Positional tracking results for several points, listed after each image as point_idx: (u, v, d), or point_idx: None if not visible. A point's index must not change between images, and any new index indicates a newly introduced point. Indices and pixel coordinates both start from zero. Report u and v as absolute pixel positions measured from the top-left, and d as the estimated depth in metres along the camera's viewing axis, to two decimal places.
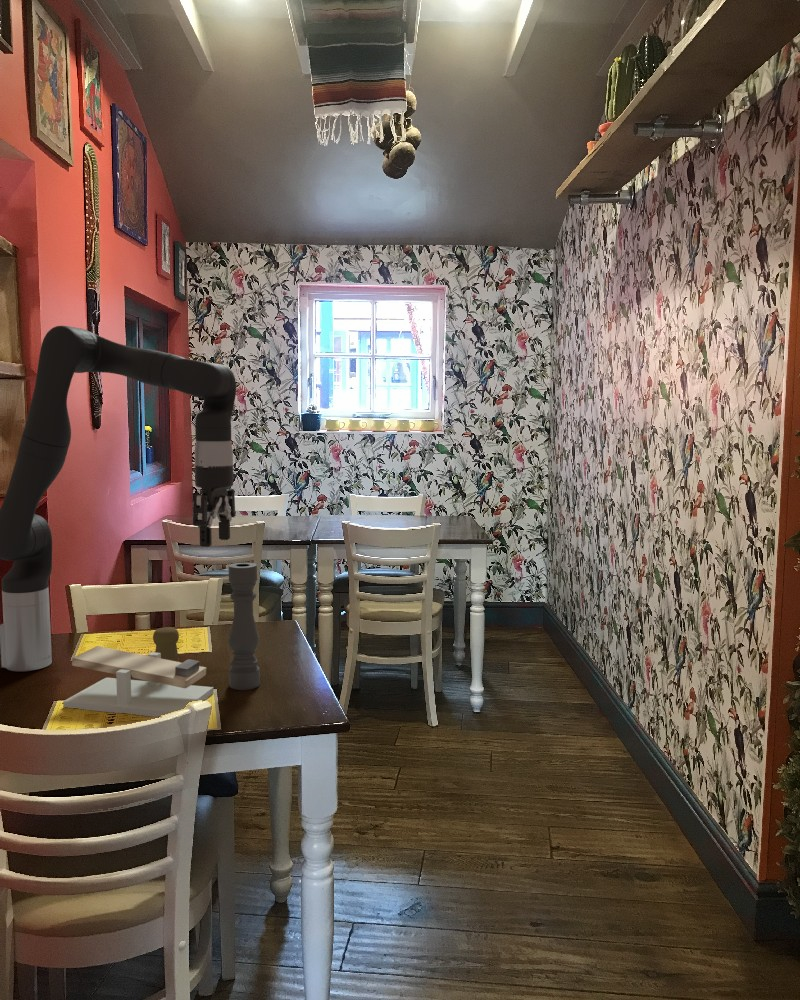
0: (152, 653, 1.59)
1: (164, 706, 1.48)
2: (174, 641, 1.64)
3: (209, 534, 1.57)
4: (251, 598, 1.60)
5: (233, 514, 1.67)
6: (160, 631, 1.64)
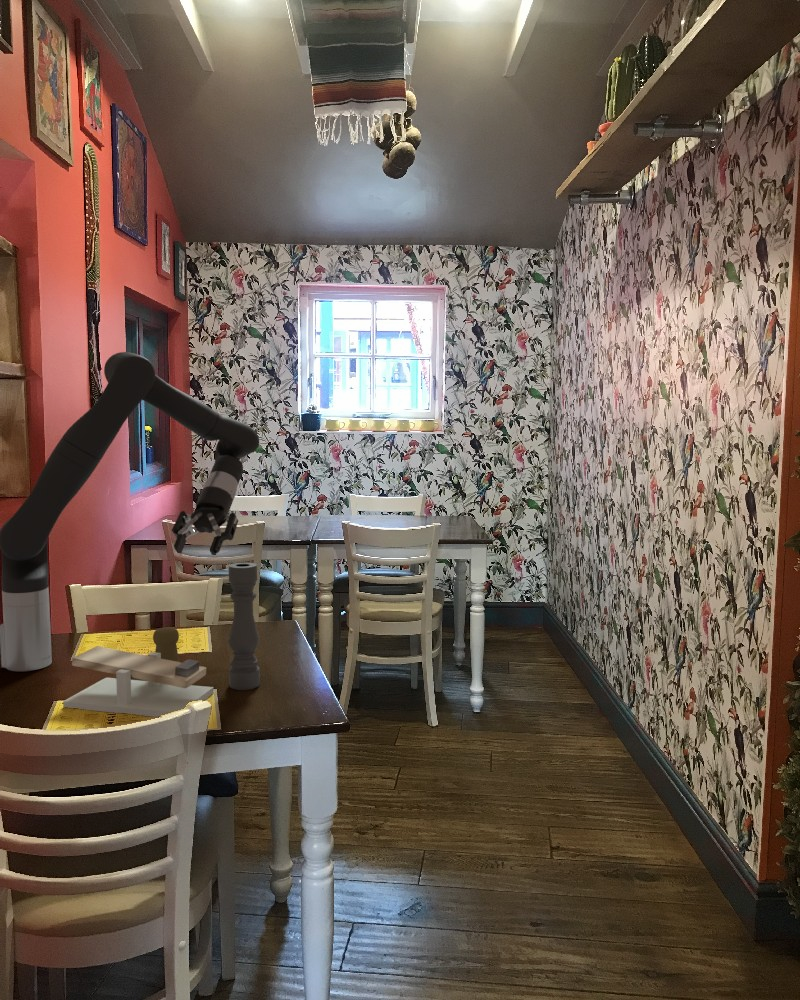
0: (152, 653, 1.59)
1: (164, 706, 1.48)
2: (174, 641, 1.64)
3: None
4: (251, 598, 1.60)
5: None
6: (160, 631, 1.64)
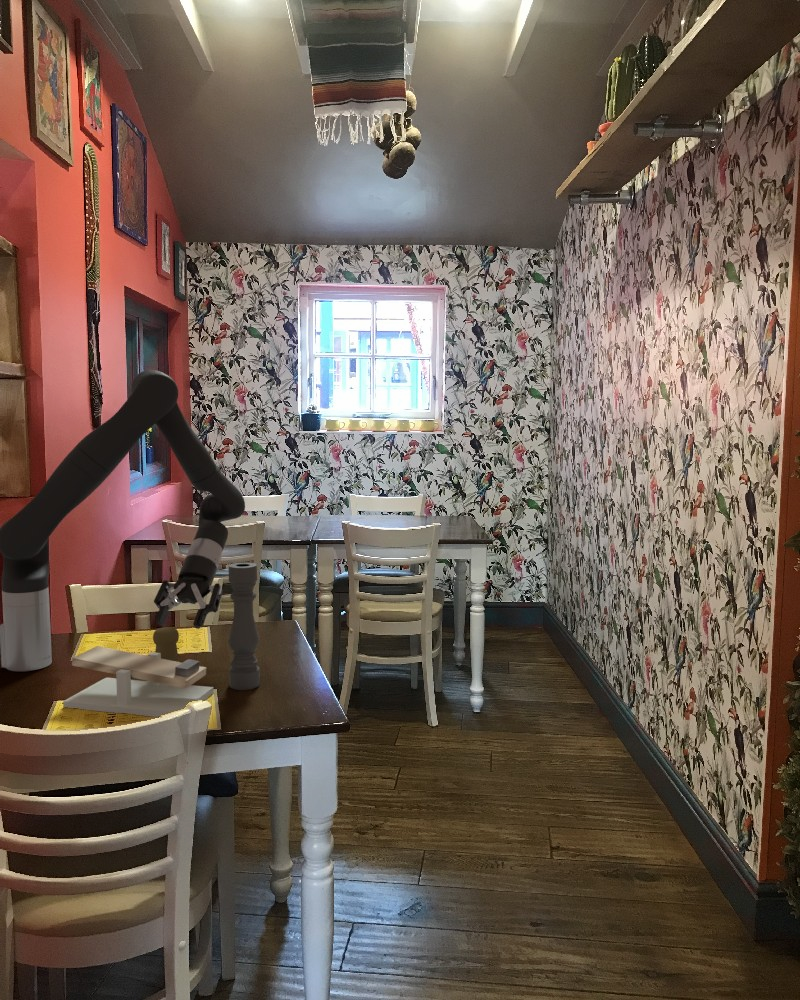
0: (152, 653, 1.59)
1: (164, 706, 1.48)
2: (174, 641, 1.64)
3: None
4: (251, 598, 1.60)
5: None
6: (160, 631, 1.64)
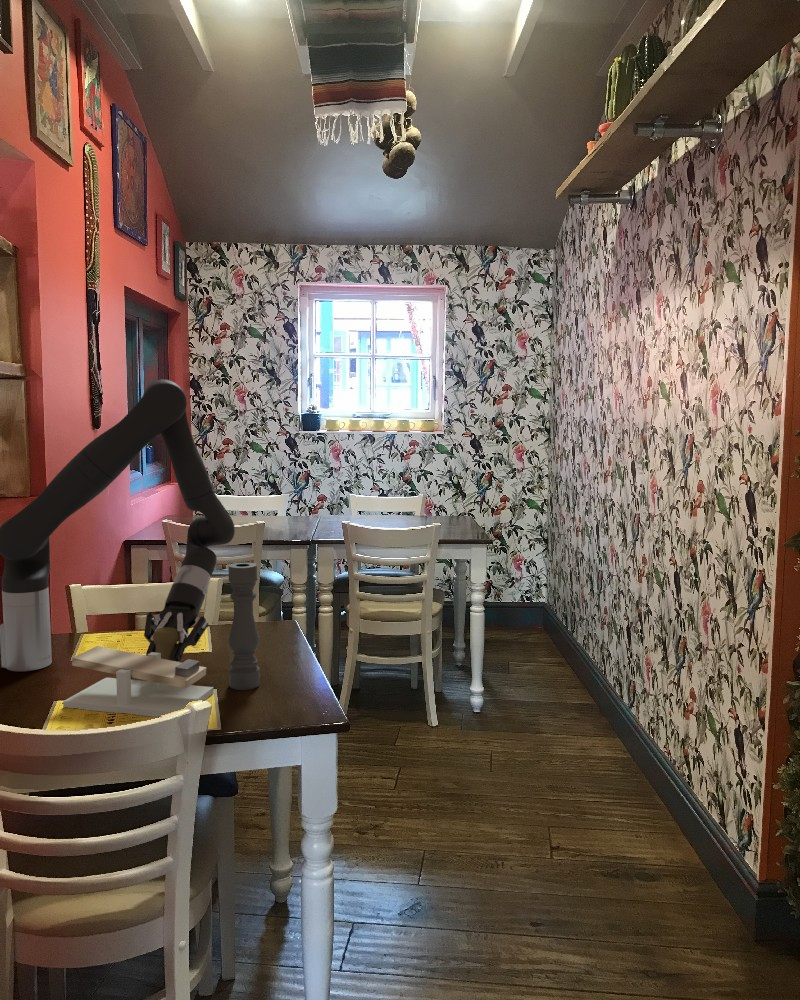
0: (152, 653, 1.59)
1: (164, 706, 1.48)
2: (174, 641, 1.64)
3: None
4: (251, 598, 1.60)
5: None
6: (160, 631, 1.64)
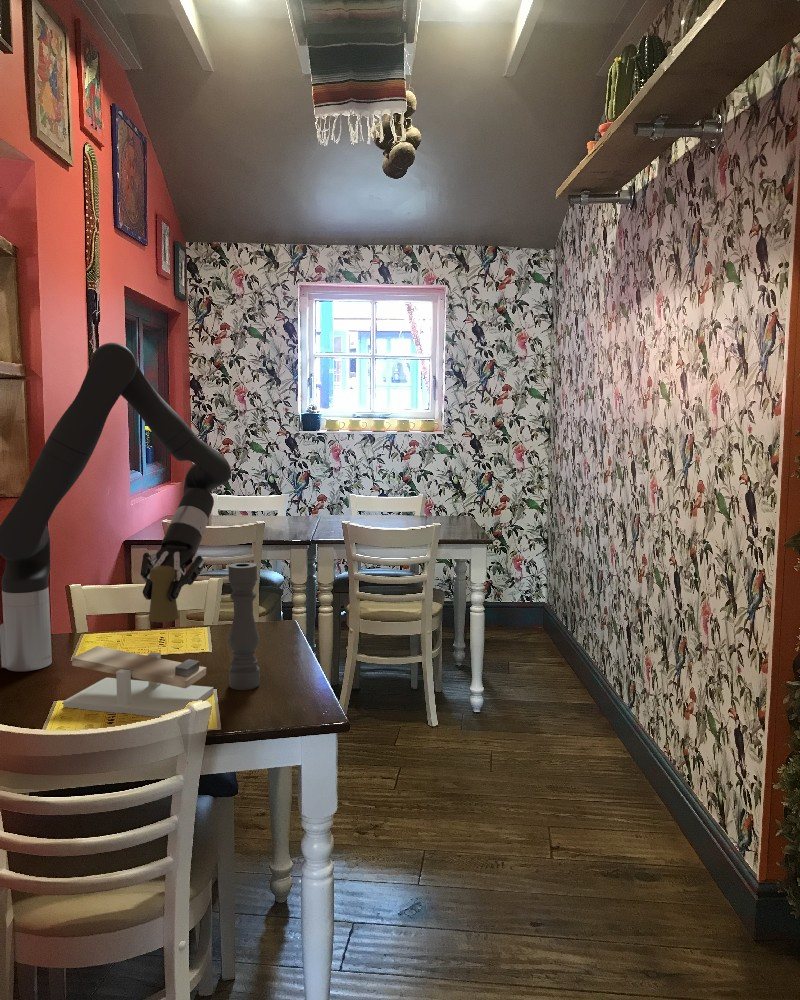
0: (152, 653, 1.59)
1: (164, 706, 1.48)
2: (171, 579, 1.63)
3: None
4: (251, 598, 1.60)
5: None
6: (157, 569, 1.62)
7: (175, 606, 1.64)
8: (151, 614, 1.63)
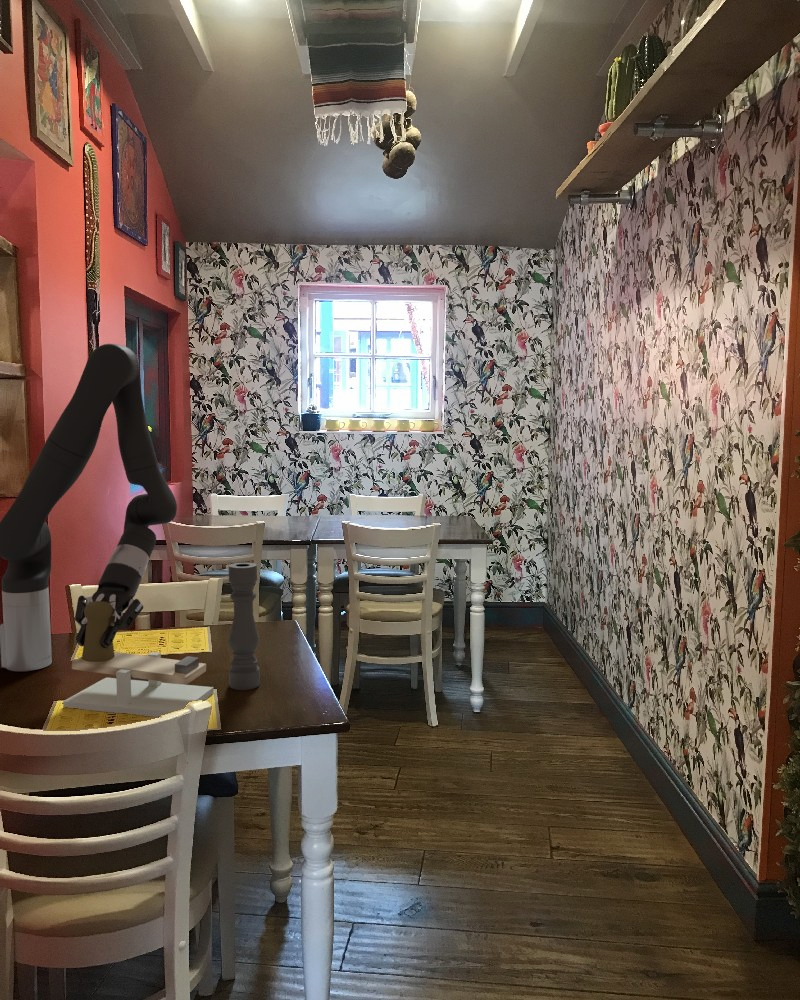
0: (152, 653, 1.59)
1: (164, 706, 1.48)
2: (106, 616, 1.54)
3: None
4: (251, 598, 1.60)
5: None
6: (92, 605, 1.53)
7: (110, 645, 1.55)
8: (84, 653, 1.54)
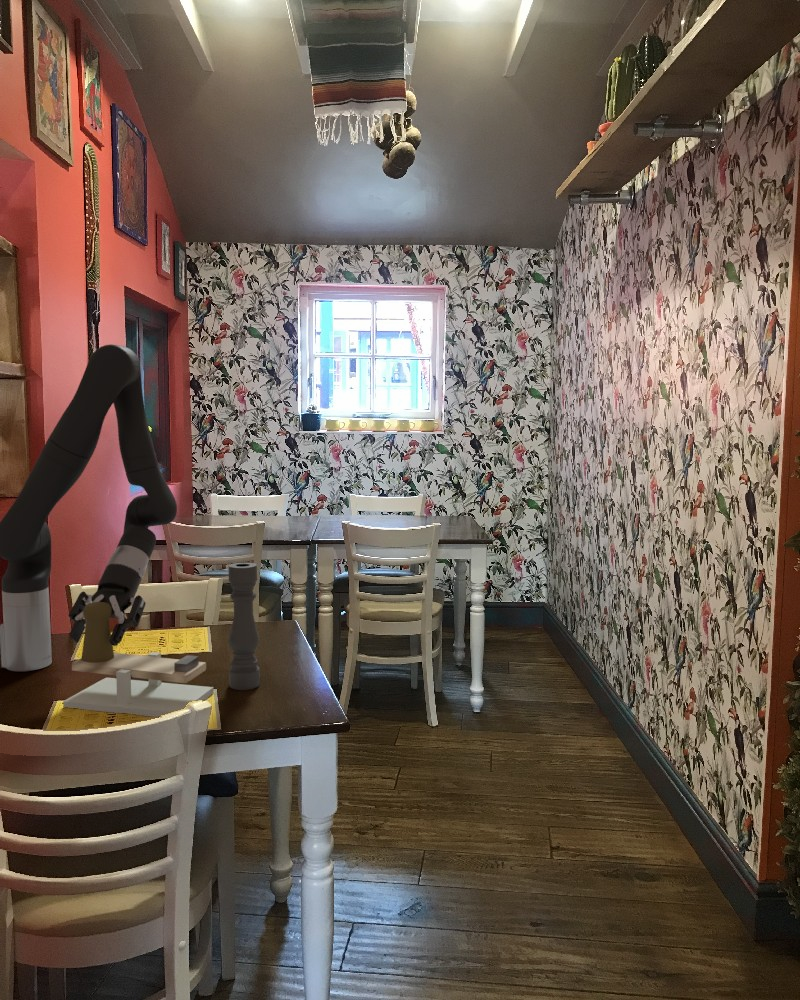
0: (152, 653, 1.59)
1: (164, 706, 1.48)
2: (105, 617, 1.54)
3: None
4: (251, 598, 1.60)
5: None
6: (91, 606, 1.53)
7: (110, 645, 1.55)
8: (84, 653, 1.54)
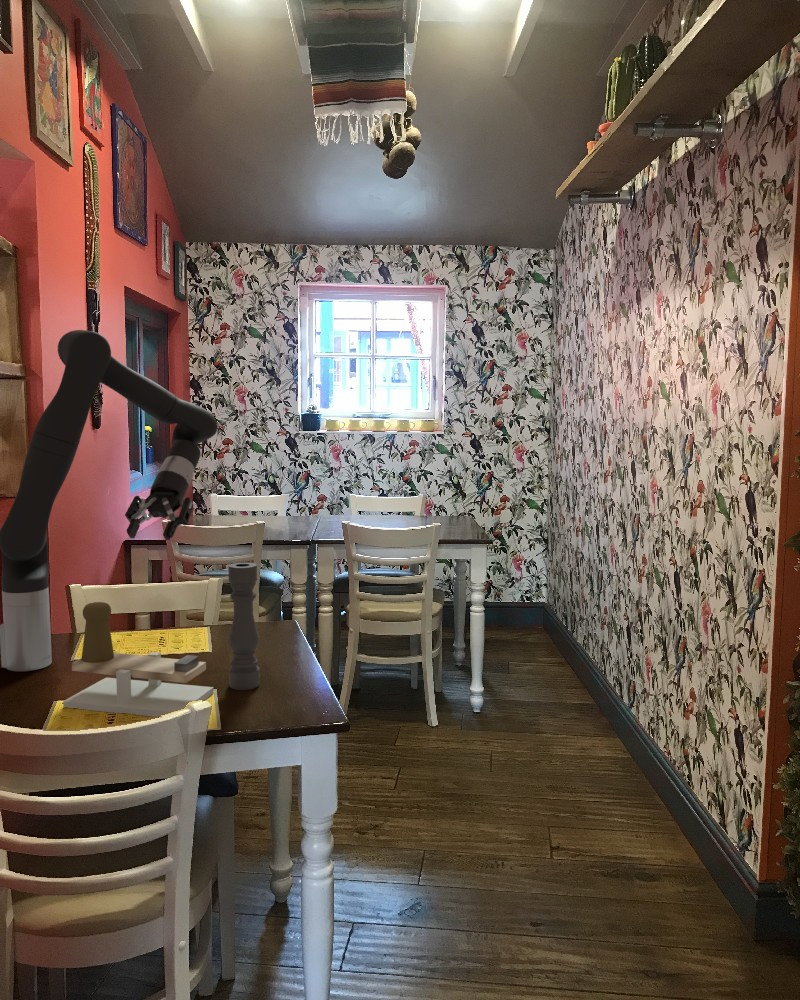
0: (152, 653, 1.59)
1: (164, 706, 1.48)
2: (105, 617, 1.54)
3: None
4: (251, 598, 1.60)
5: None
6: (90, 606, 1.53)
7: (110, 645, 1.55)
8: (83, 654, 1.54)
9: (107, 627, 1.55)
